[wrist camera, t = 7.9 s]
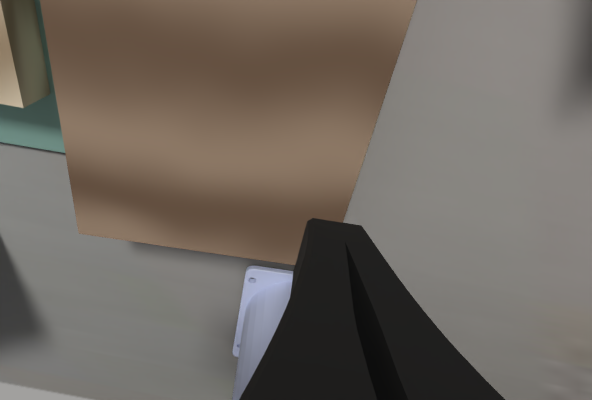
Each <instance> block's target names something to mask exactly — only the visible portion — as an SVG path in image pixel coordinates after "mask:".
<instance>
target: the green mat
mask: <svg viewBox="0 0 592 400" xmlns="http://www.w3.org/2000/svg"><path fill="white" fill-rule="evenodd" d="M34 1H35V7H36V13H37V19H38V24H39V30H40V36H41V42H42V48H43V54H44V60H45V65H46V71H47V77H48V83H49V89H50V95H48V96H46V97H44V98H42V99H40V100H38V101H36V102H34V103H32V104H30V105H28V106H26V107H25V108H21V107H15V106H10V105H4V104H0V142H3V143H9V144H15V145H21V146H27V147H33V148H39V149H45V150H51V151H57V152H63V153H65V148H64V142H63V136H62V130H61V124H60V118H59V112H58V106H57V100H56V94H55V88H54V82H53V76H52V70H51V64H50V58H49V52H48V46H47V40H46V34H45V28H44V22H43V16H42V10H41V4H40V0H34Z"/></svg>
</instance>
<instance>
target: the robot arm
mask: <svg viewBox="0 0 592 400" xmlns="http://www.w3.org/2000/svg"><path fill="white" fill-rule="evenodd" d="M251 278H255V279H251ZM232 353H233V355H234V356H236V357H238V363H237V370H236V376H235V383H234V390H233V397H232V400H505V399H504V398H503V397H502V396H501V395H500V394H499V393H498V392H497V391H496V390H495V389H494V388H493V387H492V386H491V385H490V384H489V383H488V382H487V381H486V380H485V379H484V378H483V377H482V376H481V375H480V374H479V373H478V372H477V371H476V370H475V369H474V367H473V366H472V365H471V364H470V363H469V362H468V361H467V360H466V359H465V358H464V357H463V356H462V355H461V354H460V353H459V352H458V351H457V349H456V348H455V347H454V346H453V345H452V344H451V343H450V342H449V340H448V339H447V338H446V337H445V336H444V335H443V334H442V332H441V331H440V330H439V329H438V328H437V326H436V325H435V324H434V323H433V322H432V320H431V319H430V318H429V317H428V316H427V314H426V313H425V312H424V311H423V310H422V308H421V307H420V306H419V304H418V303H417V302H416V301H415V299H414V298H413V297H412V296H411V294H410V293H409V292H408V290H407V289H406V288H405V286H404V285H403V284H402V282H401V281H400V280H399V278H398V277H397V276H396V274H395V273H394V271H393V270H392V269H391V267H390V266H389V264H388V263H387V262H386V260H385V259H384V257H383V256H382V254H381V253H380V252H379V250H378V249H377V247H376V246H375V244H374V243H373V242H372V240H371V239H370V237H369V236H368V234H367V233H366V231H365V230H364V229H363V227H362V226H360V225H354V224H348V223H341V222H335V221H329V220H323V219H316V218H312V219H310V220H308V221H307V224H306V227H305V231H304V235H303V238H302V242H301V246H300V249H299V253H298V257H297V260H296V264H295V268H294V271H289V270H282V269H275V268H268V267H261V266H249V267H248V268H247V269H246V274H245V280H244V286H243V292H242V298H241V304H240V310H239V316H238V322H237V328H236V334H235V340H234V346H233V352H232Z"/></svg>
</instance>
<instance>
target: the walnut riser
mask: <svg viewBox="0 0 592 400" xmlns="http://www.w3.org/2000/svg"><path fill="white" fill-rule="evenodd" d="M416 2H417V0H40V4H41V10H42V16H43V22H44V28H45V34H46V40H47V46H48V52H49V58H50V64H51V70H52V76H53V82H54V88H55V94H56V100H57V106H58V112H59V118H60V124H61V130H62V136H63V142H64V148H65V154H66V160H67V166H68V172H69V178H70V184H71V190H72V196H73V202H74V208H75V214H76V220H77V226H78V232H79V234H85V235H92V236H99V237H106V238H113V239H119V240H126V241H133V242H140V243H147V244H154V245H160V246H167V247H174V248H181V249H188V250H194V251H201V252H208V253H215V254H222V255H229V256H235V257H242V258H249V259H256V260H263V261H269V262H276V263H283V264H290V265H295V264H296V260H297V257H298V253H299V249H300V246H301V242H302V238H303V235H304V231H305V227H306V224H307V221H308V220H310V219H312V218H316V219H323V220H329V221H335V222H341V223H343V220H344V217H345V214H346V211H347V208H348V205H349V202H350V199H351V196H352V193H353V190H354V187H355V184H356V181H357V178H358V175H359V172H360V169H361V166H362V163H363V160H364V157H365V154H366V151H367V148H368V145H369V142H370V139H371V136H372V133H373V130H374V127H375V124H376V121H377V118H378V115H379V113H380V110H381V107H382V104H383V101H384V98H385V95H386V92H387V89H388V86H389V83H390V80H391V77H392V74H393V71H394V68H395V65H396V62H397V59H398V56H399V53H400V50H401V47H402V44H403V41H404V38H405V35H406V32H407V29H408V26H409V23H410V20H411V17H412V14H413V11H414V8H415V5H416Z"/></svg>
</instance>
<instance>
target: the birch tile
mask: <svg viewBox="0 0 592 400" xmlns="http://www.w3.org/2000/svg"><path fill="white" fill-rule="evenodd" d="M48 95H50V89H49V83H48V77H47V71H46V65H45V60H44V54H43V48H42V42H41V36H40V30H39V24H38V19H37V13H36V7H35V1H34V0H0V104H4V105H10V106H15V107H21V108H25V107H26V106H28V105H30V104H32V103H34V102H36V101H38V100H40V99H42V98H44V97H46V96H48Z"/></svg>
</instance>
